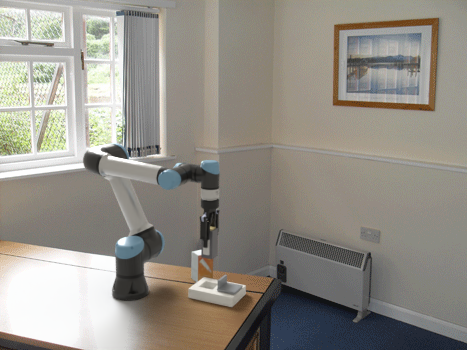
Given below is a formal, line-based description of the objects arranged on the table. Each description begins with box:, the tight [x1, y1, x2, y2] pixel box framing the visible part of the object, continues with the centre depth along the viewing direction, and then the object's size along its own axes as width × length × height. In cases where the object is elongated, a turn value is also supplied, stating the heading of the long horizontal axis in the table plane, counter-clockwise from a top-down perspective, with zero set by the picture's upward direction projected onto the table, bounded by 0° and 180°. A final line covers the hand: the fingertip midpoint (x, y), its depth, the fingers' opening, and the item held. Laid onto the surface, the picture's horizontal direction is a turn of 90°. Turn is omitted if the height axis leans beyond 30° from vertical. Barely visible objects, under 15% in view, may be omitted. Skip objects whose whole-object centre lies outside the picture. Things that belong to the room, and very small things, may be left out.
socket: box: [187, 277, 247, 308], centre depth 223 cm, size 20×14×4 cm
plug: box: [200, 226, 219, 260], centre depth 220 cm, size 5×5×13 cm
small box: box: [190, 249, 214, 283], centre depth 239 cm, size 8×6×13 cm
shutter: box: [217, 274, 244, 294], centre depth 220 cm, size 8×8×4 cm
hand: (209, 252), depth 221 cm, fingers closed on plug, 5 cm apart
